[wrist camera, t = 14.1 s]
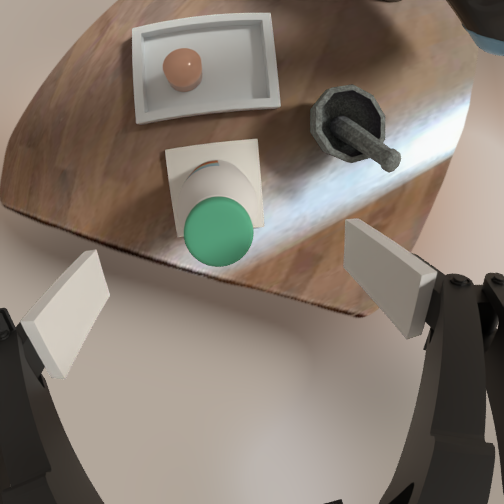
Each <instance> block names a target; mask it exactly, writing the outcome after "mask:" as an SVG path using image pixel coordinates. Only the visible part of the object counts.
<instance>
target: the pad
mask: <svg viewBox="0 0 504 504" xmlns="http://www.w3.org/2000/svg"><path fill="white" fill-rule="evenodd" d="M165 155H166V163H167V171H168V179H169V186H170V193H171V200H172V207H173V213H174V219H175V225H176V231H177V237H184V230H183V228H182V227H181V224H180V222H179V219H178V215H177V199H178V195H179V192H180V190H181V188H182V185H183V184H184V182H185V181H186V179H187V178H188V176H189V175H190V174H191V173H192V171H193V170H194V169H195V168H196V167H198V166H199V165H200V164H202V163H204V162H206V161H210V160H224V161H227V162H230V163H232V164H233V165H235V166H236V167H237V168H238V169H240V171H241V172H242V173H243V174H244V175H245V176H246V177H247V178H248V180H249V181H250V183H251V184H252V186H253V188H254V190H255V193H256V196H257V202H258V212H257V217H256V220H255V223H254V225H253V228H257V227H264V215H263V201H262V188H261V175H260V163H259V151H258V139H248V140H237V141H226V142H217V143H209V144H201V145H193V146H186V147H179V148H173V149H167V150H165Z"/></svg>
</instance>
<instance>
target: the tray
mask: <svg viewBox="0 0 504 504" xmlns="http://www.w3.org/2000/svg"><path fill="white" fill-rule="evenodd" d="M180 48H189V49H192V50H194V51H196V52H197V53H198V54H199V56H200V58H201V63H202V81H201V83H200V84H199V85H198V86H197V87H196V88H195V89H193V90H191V91H188V92H179V91H177V90H175V89H173V88H172V87H171V85H170V84H169V82H168V80H167V78H166V76H165V74H164V72H163V62H164V60H165V58H166V56H167V55H168V54H169V53H171V52H172V51H174V50H176V49H180ZM132 62H133V86H134V102H135V115H136V124H140V125H143V124H148V123H153V122H159V121H164V120H170V119H176V118H183V117H189V116H197V115H205V114H213V113H222V112H233V111H246V110H262V109H277V108H279V107H281V104H280V93H279V82H278V72H277V63H276V54H275V45H274V36H273V28H272V20H271V13H231V14H216V15H205V16H197V17H189V18H182V19H175V20H169V21H164V22H159V23H154V24H149V25H144V26H140V27H136V28H132Z"/></svg>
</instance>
